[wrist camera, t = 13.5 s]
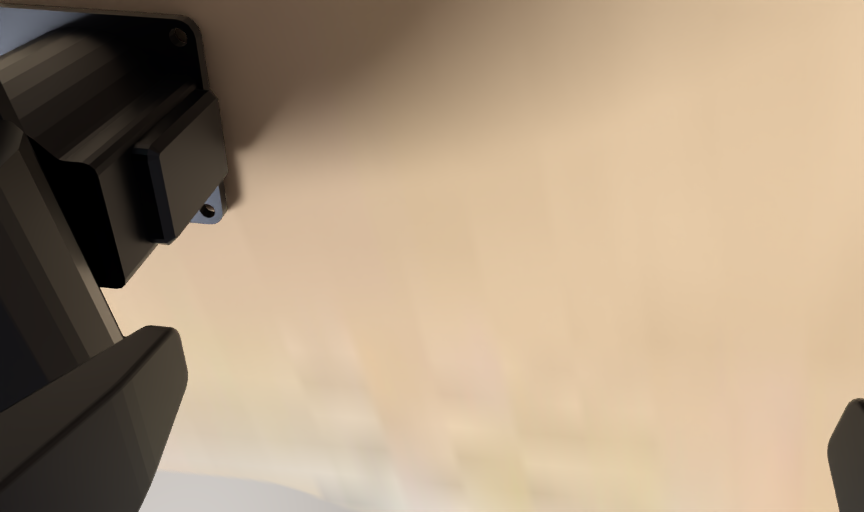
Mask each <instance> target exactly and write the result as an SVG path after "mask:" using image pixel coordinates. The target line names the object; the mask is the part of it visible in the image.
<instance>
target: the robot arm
mask: <svg viewBox="0 0 864 512" xmlns="http://www.w3.org/2000/svg"><path fill="white" fill-rule="evenodd" d="M176 28H178V29H181V30H182V31H183V32H184V33H185V34H186V36H187V43H185V42H182V41H180V40H179V39H178V38H177V36H176V34H175V29H176ZM227 174H228V166H227V159H226V152H225V145H224V138H223V131H222V124H221V117H220V110H219V103H218V99H217V97H216V96H215V95H214V94H213V93H212V91H211V90H210V89H209V82H208V75H207V69H206V62H205V55H204V49H203V42H202V35H201V32H200V29H199V27H198V26H197V24H196V23H195V22H194V21H193V20H192V19H190V18H189V17H186V16H182V15H171V14H156V13H141V12H127V11H112V10H97V9H82V8H67V7H52V6H38V5H23V4H8V3H0V512H138V511H139V509H140V507H141V505H142V503H143V501H144V499H145V497H146V494H147V492H148V490H149V488H150V486H151V483H152V481H153V478H154V476H155V473H156V470H157V468H158V465H159V462H160V459H161V457H162V454H163V451H164V448H165V446H166V443H167V440H168V437H169V434H170V432H171V429H172V426H173V423H174V420H175V418H176V415H177V412H178V409H179V406H180V404H181V401H182V398H183V395H184V393H185V390H186V386H187V381H188V370H187V365H186V361H185V356H184V352H183V347H182V342H181V338H180V335H179V333H178V331H177V330H176V329H174V328H172V327H163V326H153V325H150V326H145V327H143V328H141V329H139V330H137V331H136V332H134V333H132V334H131V335H129V336H127V337H125V336H123V335H122V333H121V331H120V329H119V327H118V325H117V322H116V320H115V318H114V316H113V314H112V312H111V310H110V308H109V306H108V304H107V302H106V300H105V297H104V295H103V293H102V291H101V289H100V287H104V288H114V289H118V288H122V287H123V286H124V285H125V284H126V283H127V282H128V281H129V279H130V278H131V277H132V276H133V275H134V273H135V272H136V271H137V270H138V268H139V267H140V266H141V265H142V263H143V262H144V261H145V260H146V259H147V257H148V256H149V255H150V254H151V252H152V251H153V250H154V249H155V248H156V246H157V245H158V244H163V245H170V244H171V243H172V242H173V241H174V240H175V239H177V238H178V236H179V235H180V234H181V232H182V231H183V230H184V229H185V227H186V226H187V225H188V224H189V222H190V223H201V224H216V223H218V222H219V221H220V220H221V219H222V217H223V216H224V215H225V213H226V211H227V202H226V195H225V189H224V182H223V179H224V178H225V176H226V175H227ZM205 204H209V205H211V206H212V207H213V208H214V210H215V211H214V212H213V211H210V210H208V209H207V208H206V207H205ZM827 455H828V462H829V467H830V471H831V476H832V480H833V485H834V489H835V494H836V498H837V503H838V507H839V512H864V399H863V398H857V399H853V400H852V401H851V402H849V403H848V405H847V407H846V408H845V410H844V412H843V414H842V416H841V418H840V420H839V422H838V424H837V426H836V428H835V430H834V432H833V434H832V436H831V438H830V440H829V443H828V450H827Z"/></svg>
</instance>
